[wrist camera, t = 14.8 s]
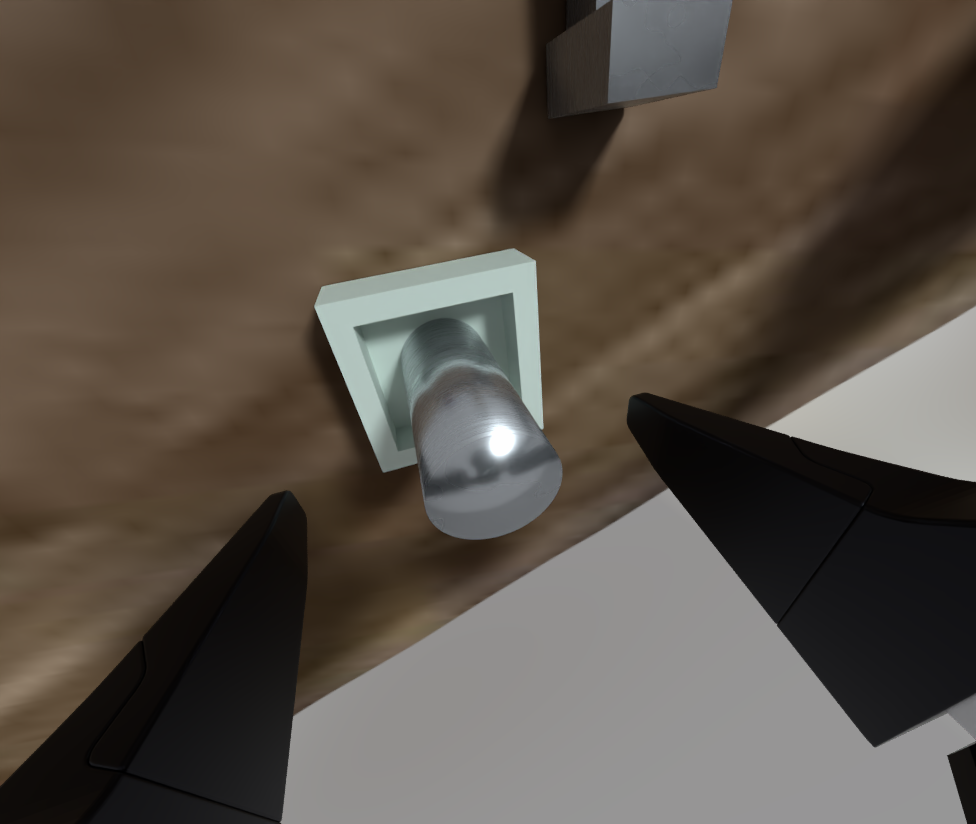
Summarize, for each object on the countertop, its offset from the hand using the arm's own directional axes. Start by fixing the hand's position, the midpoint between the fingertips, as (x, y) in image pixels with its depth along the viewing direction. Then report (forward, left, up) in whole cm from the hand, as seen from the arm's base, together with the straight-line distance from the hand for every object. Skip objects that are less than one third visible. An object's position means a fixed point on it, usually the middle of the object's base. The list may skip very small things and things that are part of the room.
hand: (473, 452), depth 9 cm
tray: (0, 0, -6) cm, 6 cm away
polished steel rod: (0, 0, -5) cm, 5 cm away
